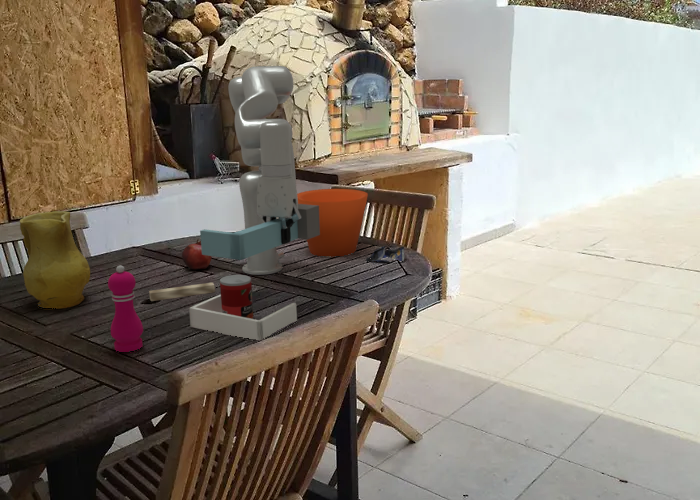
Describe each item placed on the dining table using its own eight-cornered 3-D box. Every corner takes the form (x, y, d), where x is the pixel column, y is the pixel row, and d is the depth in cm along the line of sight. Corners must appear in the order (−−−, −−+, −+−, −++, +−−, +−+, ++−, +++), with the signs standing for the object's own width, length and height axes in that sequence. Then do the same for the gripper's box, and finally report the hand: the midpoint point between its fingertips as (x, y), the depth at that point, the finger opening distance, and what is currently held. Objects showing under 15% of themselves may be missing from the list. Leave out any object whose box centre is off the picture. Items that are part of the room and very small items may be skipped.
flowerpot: (346, 264, 229) (345, 204, 224) (283, 255, 241) (280, 198, 235) (381, 246, 250) (380, 191, 245) (321, 239, 262) (319, 186, 256)
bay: (229, 308, 189) (227, 291, 187) (296, 322, 178) (296, 303, 177) (190, 326, 176) (189, 307, 175) (260, 342, 165) (259, 322, 164)
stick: (213, 290, 205) (212, 282, 204) (215, 293, 203) (214, 284, 202) (149, 299, 199) (149, 290, 198) (151, 302, 196) (150, 293, 196)
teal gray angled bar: (274, 229, 196) (273, 201, 194) (319, 234, 189) (318, 205, 187) (201, 254, 171) (199, 222, 169) (250, 261, 164) (248, 228, 162)
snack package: (383, 269, 224) (410, 261, 230) (380, 249, 223) (408, 242, 229) (360, 267, 233) (387, 260, 240) (357, 248, 232) (385, 241, 239)
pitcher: (30, 317, 185) (16, 224, 179) (25, 297, 201) (13, 212, 195) (98, 306, 193) (87, 217, 187) (88, 288, 209) (78, 205, 203)
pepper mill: (116, 342, 167) (107, 261, 162) (147, 341, 167) (139, 260, 162) (109, 354, 160) (99, 270, 155) (141, 353, 160) (132, 269, 155)
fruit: (177, 271, 225) (174, 240, 222) (194, 263, 233) (192, 234, 231) (201, 273, 221) (199, 243, 219) (217, 265, 230) (215, 236, 227)
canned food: (247, 326, 176) (245, 284, 173) (217, 324, 177) (214, 282, 175) (257, 315, 183) (255, 275, 180) (228, 314, 185) (226, 273, 182)
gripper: (241, 171, 177) (246, 242, 182) (295, 175, 169) (298, 249, 174) (259, 167, 184) (263, 236, 188) (312, 171, 176) (314, 242, 180)
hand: (280, 241), depth 181 cm, fingers closed on teal gray angled bar, 3 cm apart
